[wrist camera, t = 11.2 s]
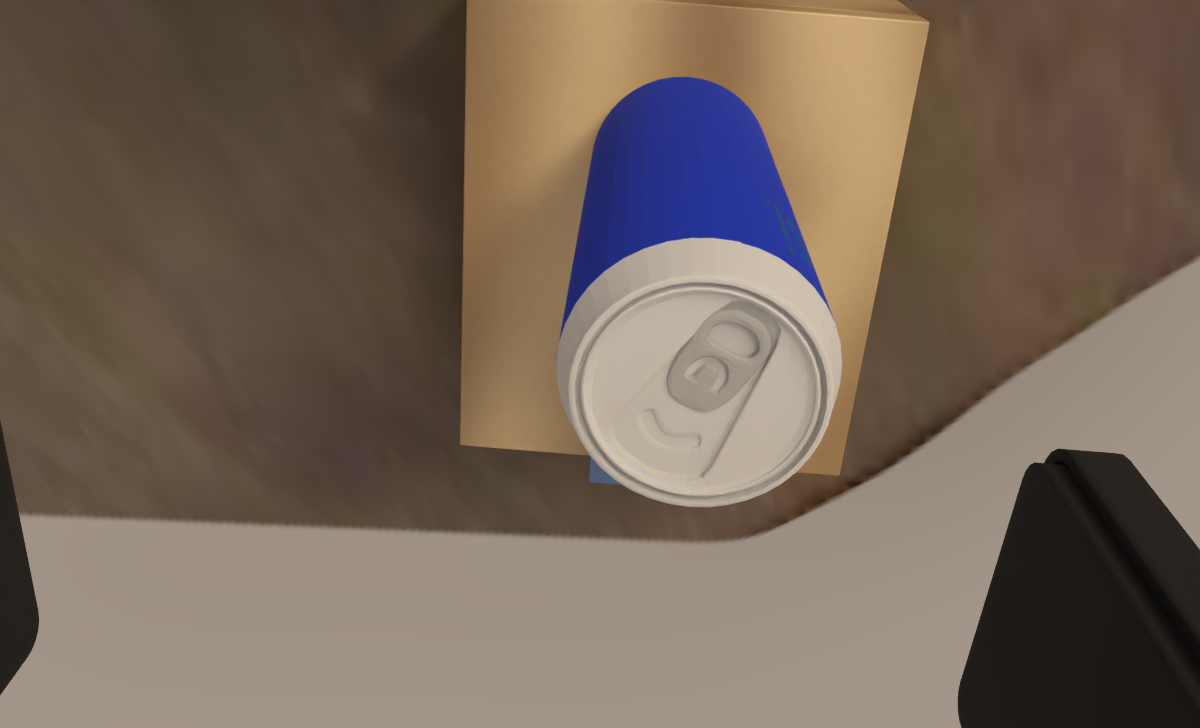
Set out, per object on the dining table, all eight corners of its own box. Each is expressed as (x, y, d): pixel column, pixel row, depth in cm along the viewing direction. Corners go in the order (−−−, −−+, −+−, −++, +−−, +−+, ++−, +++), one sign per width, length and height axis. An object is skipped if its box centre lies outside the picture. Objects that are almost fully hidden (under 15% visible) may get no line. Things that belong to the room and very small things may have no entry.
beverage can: (704, 271, 34) (740, 565, 20) (561, 187, 33) (499, 438, 19) (801, 131, 32) (913, 355, 18) (651, 37, 31) (652, 200, 17)
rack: (487, 355, 43) (459, 445, 37) (497, -42, 36) (466, -15, 30) (811, 382, 43) (839, 476, 37) (881, -12, 36) (930, 22, 30)
